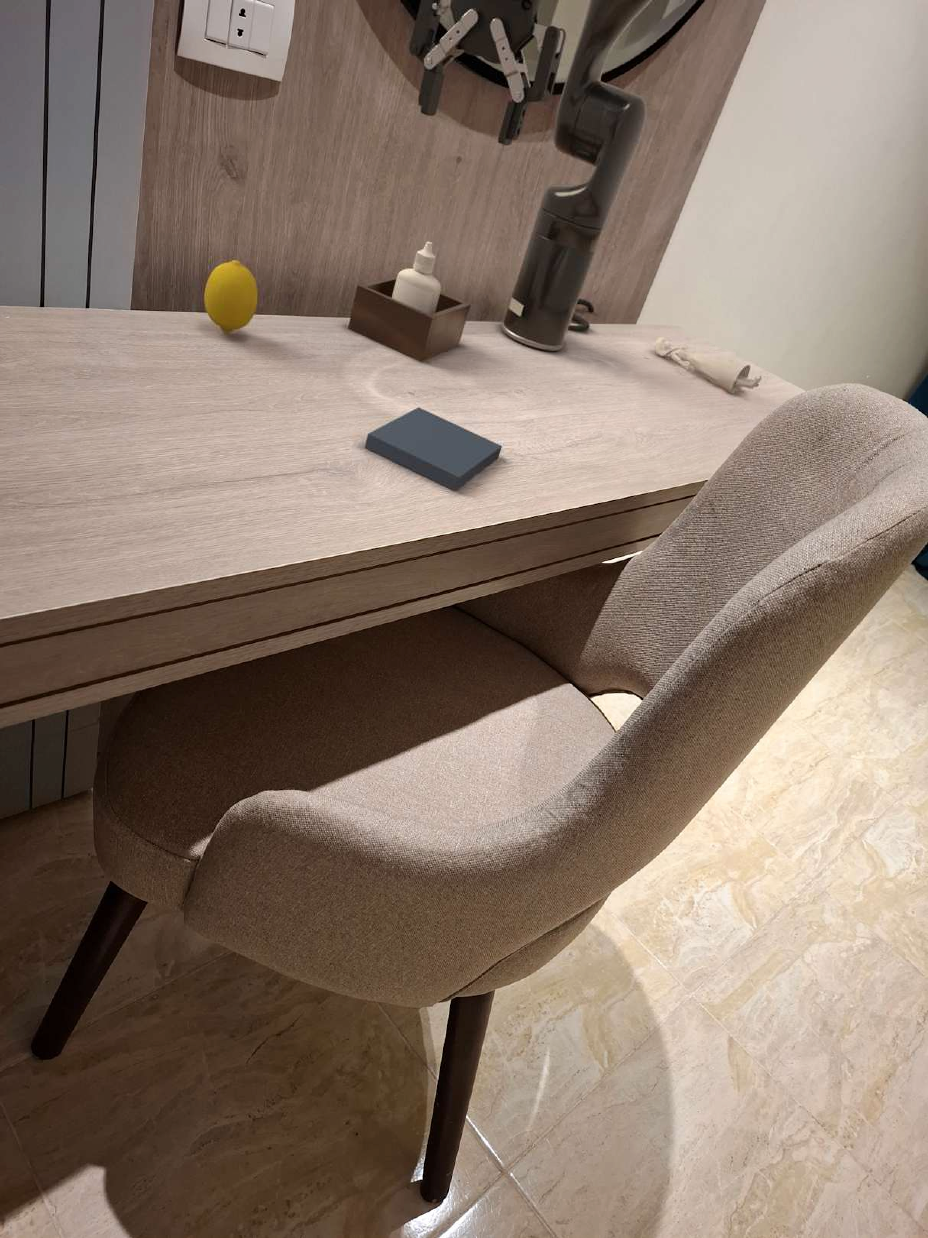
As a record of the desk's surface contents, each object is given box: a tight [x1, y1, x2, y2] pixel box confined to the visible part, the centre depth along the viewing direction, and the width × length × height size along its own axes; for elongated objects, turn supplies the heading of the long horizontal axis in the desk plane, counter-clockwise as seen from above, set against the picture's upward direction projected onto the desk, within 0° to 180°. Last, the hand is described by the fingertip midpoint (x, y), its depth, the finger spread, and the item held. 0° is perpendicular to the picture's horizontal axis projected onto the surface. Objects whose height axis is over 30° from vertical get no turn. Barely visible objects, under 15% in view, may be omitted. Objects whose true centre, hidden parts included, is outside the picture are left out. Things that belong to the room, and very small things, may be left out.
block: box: [364, 406, 503, 492], centre depth 90 cm, size 11×10×2 cm
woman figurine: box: [653, 337, 762, 394], centre depth 143 cm, size 12×4×18 cm
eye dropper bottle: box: [392, 241, 442, 315], centre depth 113 cm, size 4×6×12 cm
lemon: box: [203, 259, 259, 334], centre depth 98 cm, size 6×6×8 cm
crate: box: [347, 274, 471, 362], centre depth 115 cm, size 12×11×6 cm
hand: (465, 128), depth 88 cm, fingers open, 8 cm apart
